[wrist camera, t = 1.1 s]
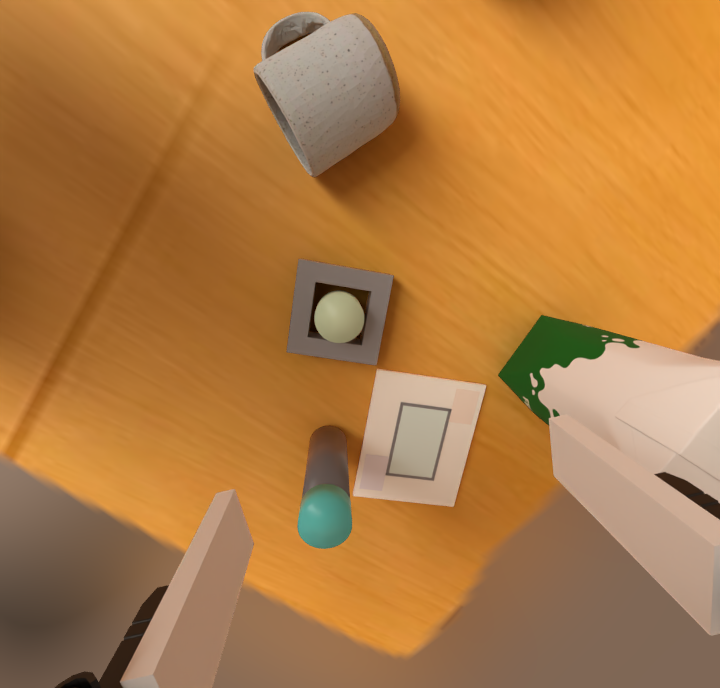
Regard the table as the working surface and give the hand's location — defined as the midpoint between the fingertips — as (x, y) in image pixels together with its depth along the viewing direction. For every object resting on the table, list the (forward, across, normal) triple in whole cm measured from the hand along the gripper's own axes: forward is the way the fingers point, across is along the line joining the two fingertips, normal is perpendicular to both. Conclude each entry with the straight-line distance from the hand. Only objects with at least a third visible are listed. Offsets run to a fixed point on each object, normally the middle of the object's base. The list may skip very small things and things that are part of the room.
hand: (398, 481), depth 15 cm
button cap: (+19, -1, +4) cm, 19 cm away
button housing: (+20, -1, +4) cm, 21 cm away
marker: (+20, -5, -8) cm, 22 cm away
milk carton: (+20, +17, -5) cm, 27 cm away
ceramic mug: (+20, +1, +21) cm, 29 cm away
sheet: (+20, +3, -10) cm, 23 cm away
